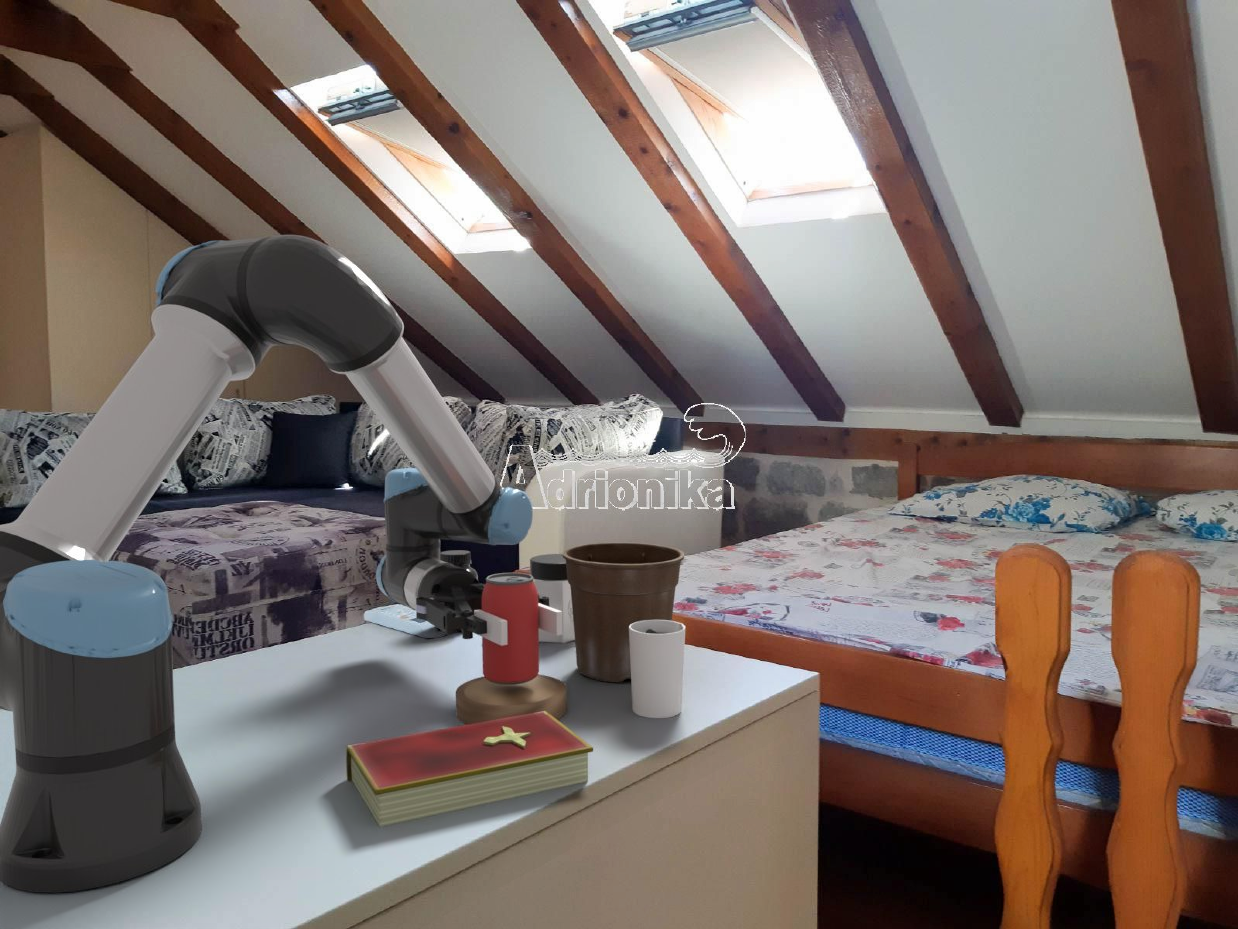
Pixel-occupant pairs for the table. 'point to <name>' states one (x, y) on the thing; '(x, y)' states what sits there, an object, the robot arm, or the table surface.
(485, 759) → the hardcover book
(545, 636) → the jar
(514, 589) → the beer can
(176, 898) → the table surface
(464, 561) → the supplement bottle
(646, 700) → the white cup
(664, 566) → the plant pot
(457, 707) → the shallow wooden bowl
